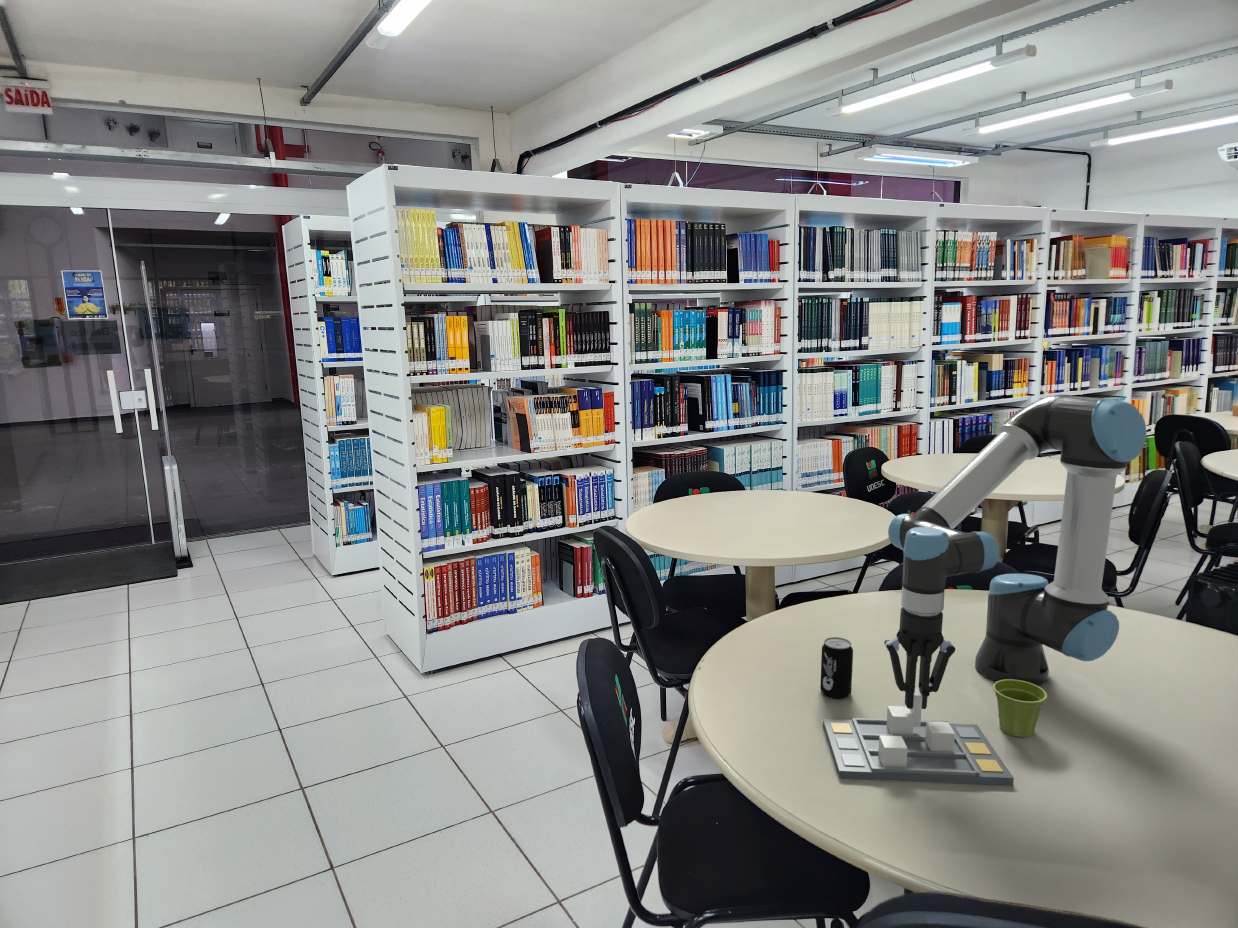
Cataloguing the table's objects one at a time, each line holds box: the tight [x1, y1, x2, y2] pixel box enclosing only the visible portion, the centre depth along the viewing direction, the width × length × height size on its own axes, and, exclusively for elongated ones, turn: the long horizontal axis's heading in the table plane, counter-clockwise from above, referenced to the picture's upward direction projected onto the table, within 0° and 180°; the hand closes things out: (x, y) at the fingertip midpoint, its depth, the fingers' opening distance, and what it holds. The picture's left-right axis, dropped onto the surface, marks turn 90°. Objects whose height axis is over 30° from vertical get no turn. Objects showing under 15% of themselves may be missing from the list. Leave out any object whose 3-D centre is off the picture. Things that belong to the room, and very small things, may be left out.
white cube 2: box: [925, 721, 955, 752], centre depth 144 cm, size 4×4×4 cm
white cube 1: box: [886, 705, 914, 735], centre depth 150 cm, size 4×4×4 cm
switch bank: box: [822, 717, 1015, 787], centre depth 145 cm, size 30×18×2 cm, turn 84°
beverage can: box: [820, 636, 854, 700], centre depth 167 cm, size 7×7×12 cm
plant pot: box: [992, 679, 1048, 739], centre depth 152 cm, size 9×9×9 cm
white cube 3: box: [878, 736, 907, 768], centre depth 139 cm, size 4×4×4 cm
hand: (914, 722), depth 150 cm, fingers closed
